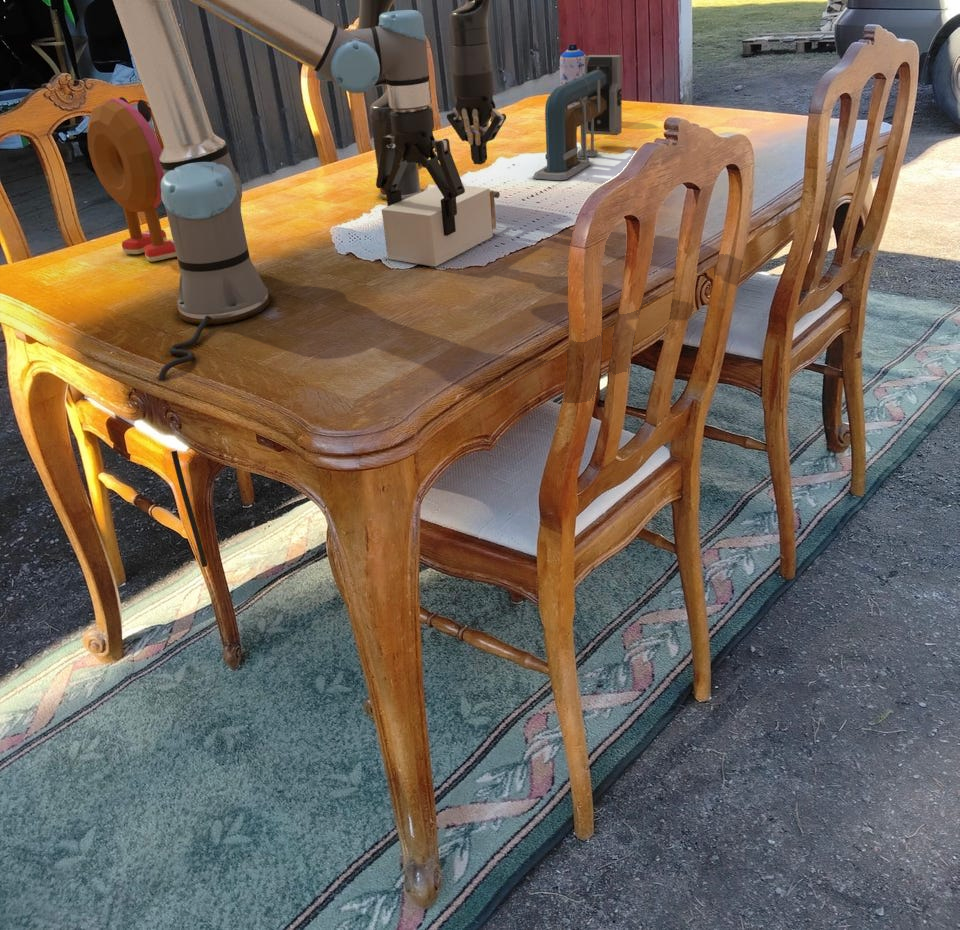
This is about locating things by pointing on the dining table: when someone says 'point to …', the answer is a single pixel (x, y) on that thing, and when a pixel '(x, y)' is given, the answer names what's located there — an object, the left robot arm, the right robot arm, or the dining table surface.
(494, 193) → the drawer
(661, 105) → the dining table surface
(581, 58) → the aerosol can
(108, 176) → the toy
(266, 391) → the dining table surface
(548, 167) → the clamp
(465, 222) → the beige cardboard box
